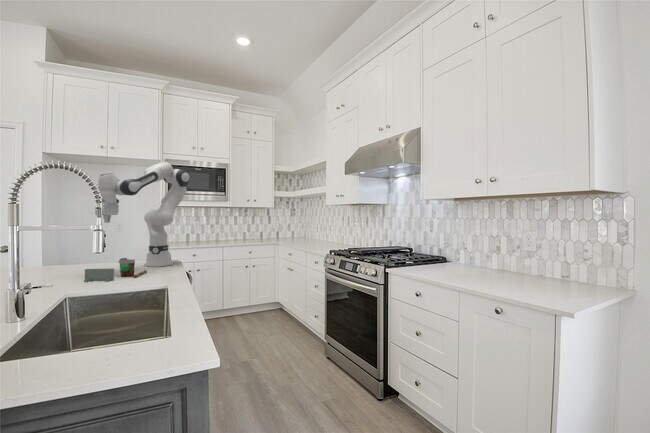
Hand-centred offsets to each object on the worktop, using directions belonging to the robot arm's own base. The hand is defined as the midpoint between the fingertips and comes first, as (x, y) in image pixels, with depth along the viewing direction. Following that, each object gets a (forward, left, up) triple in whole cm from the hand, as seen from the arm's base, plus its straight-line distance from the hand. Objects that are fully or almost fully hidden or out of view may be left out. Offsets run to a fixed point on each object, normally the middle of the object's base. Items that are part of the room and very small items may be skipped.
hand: (107, 222), depth 194 cm
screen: (+22, +6, -31) cm, 39 cm away
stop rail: (+8, +22, -31) cm, 39 cm away
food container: (+9, +14, -31) cm, 35 cm away
